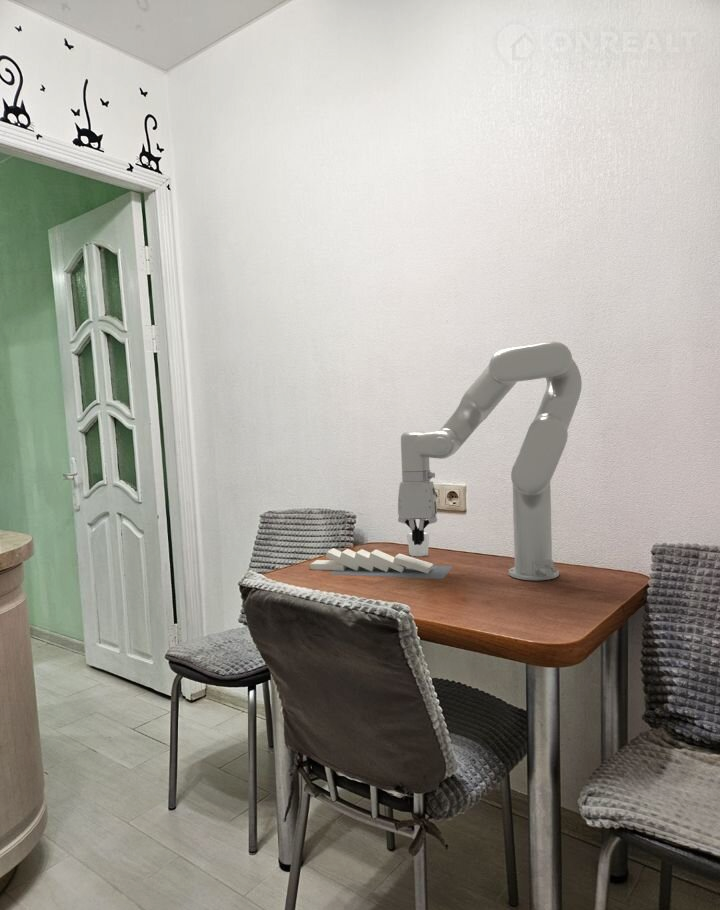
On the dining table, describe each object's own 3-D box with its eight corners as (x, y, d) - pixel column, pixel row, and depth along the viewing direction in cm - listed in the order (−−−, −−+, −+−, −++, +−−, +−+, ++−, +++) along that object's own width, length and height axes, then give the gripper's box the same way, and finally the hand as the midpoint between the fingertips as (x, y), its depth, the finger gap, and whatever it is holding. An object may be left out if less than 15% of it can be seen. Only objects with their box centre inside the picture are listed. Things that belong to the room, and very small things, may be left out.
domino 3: (378, 562, 184) (347, 548, 186) (373, 566, 179) (341, 552, 182) (377, 567, 184) (345, 553, 187) (371, 571, 179) (339, 557, 182)
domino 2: (364, 561, 185) (333, 548, 188) (358, 565, 180) (326, 551, 183) (362, 566, 185) (331, 553, 188) (356, 570, 181) (325, 556, 183)
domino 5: (408, 563, 181) (375, 549, 184) (403, 567, 176) (370, 552, 179) (406, 568, 181) (374, 554, 184) (401, 572, 176) (368, 558, 179)
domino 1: (349, 560, 187) (316, 559, 190) (343, 564, 182) (310, 563, 185) (349, 566, 187) (317, 565, 190) (343, 570, 182) (310, 569, 185)
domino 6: (433, 563, 179) (399, 553, 182) (429, 568, 174) (394, 557, 177) (432, 569, 179) (397, 558, 182) (427, 573, 174) (393, 562, 177)
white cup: (403, 555, 201) (402, 532, 200) (422, 552, 204) (422, 530, 203) (414, 559, 194) (413, 535, 194) (434, 556, 197) (433, 533, 197)
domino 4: (393, 562, 182) (361, 549, 185) (388, 566, 178) (356, 552, 180) (391, 567, 183) (359, 554, 185) (386, 572, 178) (354, 557, 181)
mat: (452, 567, 182) (452, 566, 182) (443, 580, 168) (442, 578, 168) (345, 563, 192) (345, 562, 192) (328, 575, 179) (328, 574, 179)
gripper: (445, 475, 177) (448, 542, 178) (393, 476, 182) (395, 540, 183) (440, 478, 170) (442, 547, 171) (385, 478, 175) (388, 546, 176)
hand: (418, 543), depth 177 cm, fingers closed
